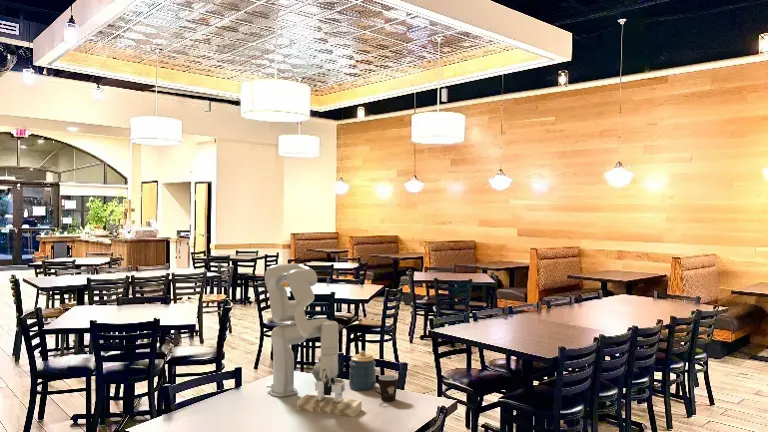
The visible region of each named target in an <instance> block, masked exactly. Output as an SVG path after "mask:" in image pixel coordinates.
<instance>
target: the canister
mask: <svg viewBox="0 0 768 432" xmlns="http://www.w3.org/2000/svg"><path fill="white" fill-rule="evenodd" d="M350 359H351V360H350V361H349V362H348V363H349V367H350V368H349V370H348V371H349V380H348V381H349V382H348V386H349V389H350V390H354V391H360V392H361V391H363V392H365V391H370V390H371V391H372V390H373V389H374V390H375V388H376V385H377V383H374V384H373V389H372V387H371V385H372V383H373V382H375V381H377V379H376V375H377V373H376V371H377V369H376V367H375V366H376V364H377V363H376V361H375V357H374V356H373V355H372V354H369V353H366V351H365V350H361V351H359V353H357V354H354V355H353V356H351V357H350Z"/></svg>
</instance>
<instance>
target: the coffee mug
mask: <svg viewBox="0 0 768 432" xmlns="http://www.w3.org/2000/svg"><path fill="white" fill-rule="evenodd" d="M398 379H399V377H398V376H396V375H391V374H385V375H380V376H379V377H378V381H377V380H376V381H375V382H373V383H372V385H371V387H372V389H371V390H373V391H374V392H375V393H377V394H378V395H380V401H382V402H385V403H393V402H394V401H396V398H397V397H396V396H397V390H398V382H399V381H398ZM374 383H376V384H378V386H379V390H380V391H377V390H376V389H375V388H374V389H373V384H374Z"/></svg>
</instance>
